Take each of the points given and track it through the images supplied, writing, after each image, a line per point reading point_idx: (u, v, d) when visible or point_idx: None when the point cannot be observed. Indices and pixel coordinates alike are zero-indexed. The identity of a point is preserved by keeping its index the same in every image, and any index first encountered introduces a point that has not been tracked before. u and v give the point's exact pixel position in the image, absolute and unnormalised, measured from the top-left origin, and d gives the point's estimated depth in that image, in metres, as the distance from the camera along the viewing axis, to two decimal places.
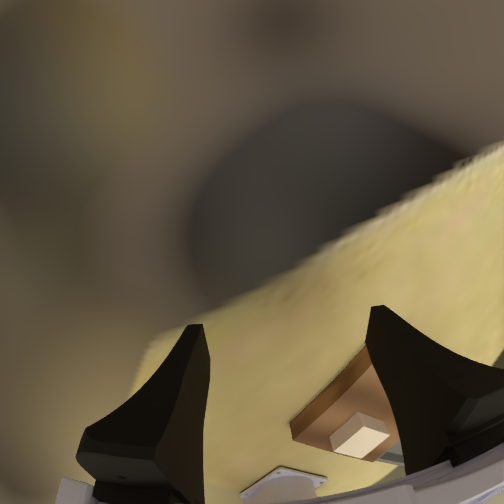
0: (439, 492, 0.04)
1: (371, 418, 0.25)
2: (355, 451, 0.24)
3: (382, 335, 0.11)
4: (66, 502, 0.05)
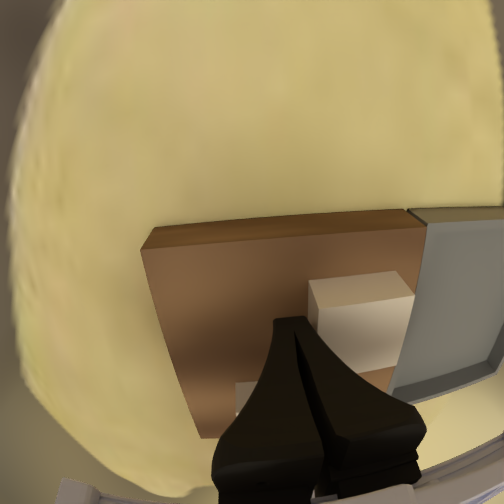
0: (439, 492, 0.04)
1: None
2: None
3: None
4: (66, 502, 0.05)
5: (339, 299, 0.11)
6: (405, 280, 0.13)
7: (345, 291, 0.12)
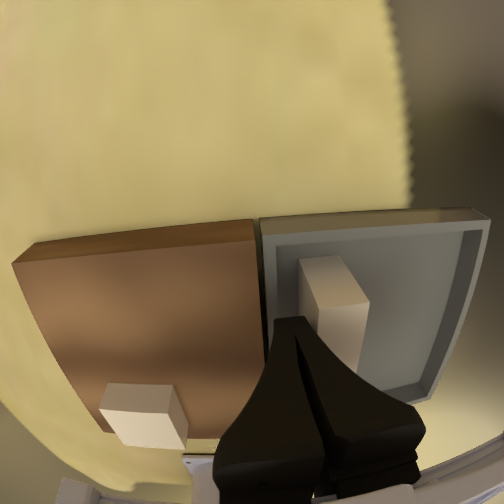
0: (439, 492, 0.04)
1: (135, 387, 0.15)
2: (154, 442, 0.15)
3: None
4: (66, 502, 0.05)
5: (352, 290, 0.12)
6: (242, 298, 0.13)
7: (338, 287, 0.12)
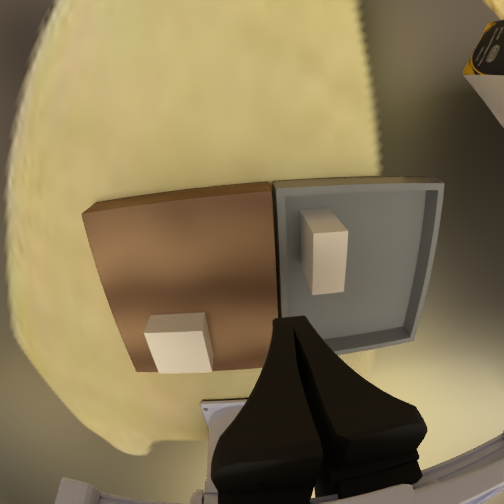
0: (439, 492, 0.04)
1: (174, 316, 0.21)
2: (186, 366, 0.21)
3: (295, 348, 0.11)
4: (66, 502, 0.05)
5: (336, 225, 0.18)
6: (262, 233, 0.19)
7: (327, 223, 0.18)
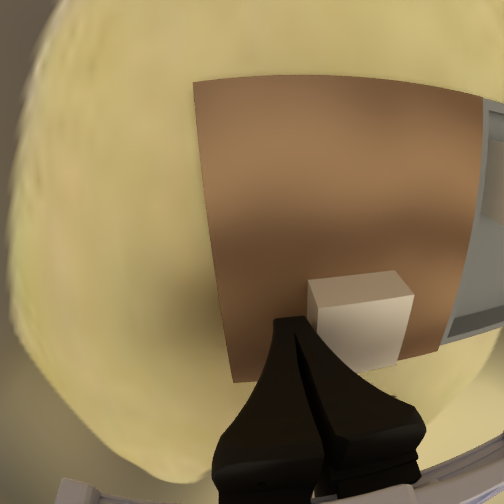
0: (439, 492, 0.04)
1: (353, 278, 0.13)
2: (363, 361, 0.12)
3: None
4: (66, 502, 0.05)
5: None
6: (471, 151, 0.10)
7: None
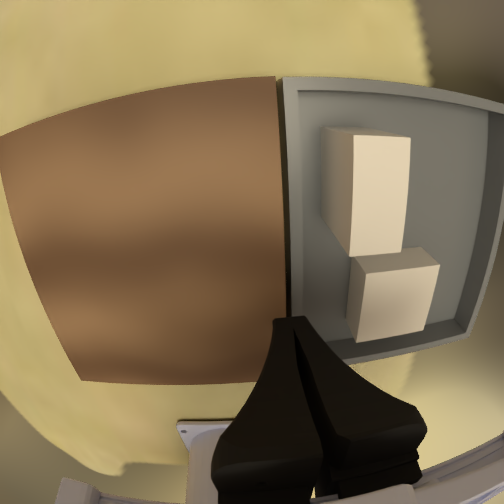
0: (439, 492, 0.04)
1: (405, 265, 0.13)
2: None
3: (295, 348, 0.11)
4: (66, 502, 0.05)
5: (387, 133, 0.09)
6: (259, 149, 0.10)
7: (370, 132, 0.10)
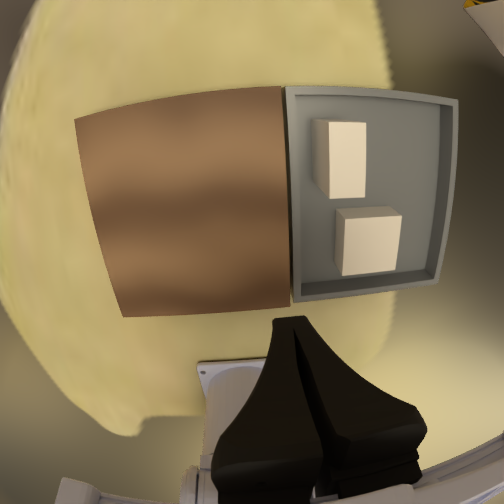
0: (439, 492, 0.04)
1: (374, 215, 0.19)
2: None
3: (295, 348, 0.11)
4: (66, 502, 0.05)
5: (352, 121, 0.15)
6: (270, 132, 0.16)
7: None
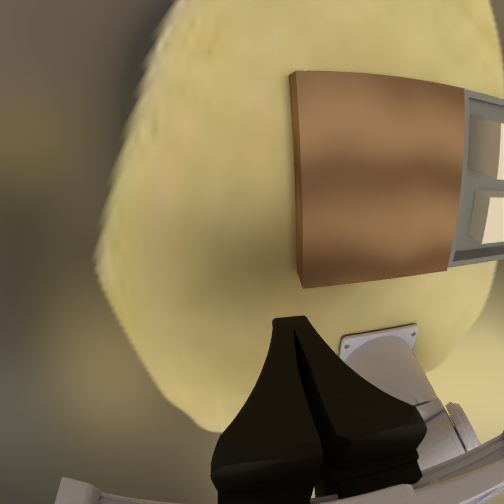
0: (439, 492, 0.04)
1: (503, 196, 0.19)
2: None
3: (295, 348, 0.11)
4: (66, 503, 0.05)
5: None
6: (457, 123, 0.16)
7: None
